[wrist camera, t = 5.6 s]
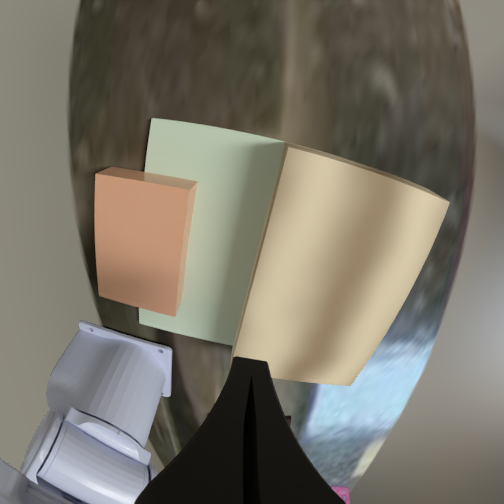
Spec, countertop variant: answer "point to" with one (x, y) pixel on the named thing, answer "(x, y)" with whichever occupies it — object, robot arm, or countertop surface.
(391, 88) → the countertop surface
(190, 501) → the robot arm
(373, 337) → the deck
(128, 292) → the tile
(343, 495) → the gum box
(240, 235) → the mat
